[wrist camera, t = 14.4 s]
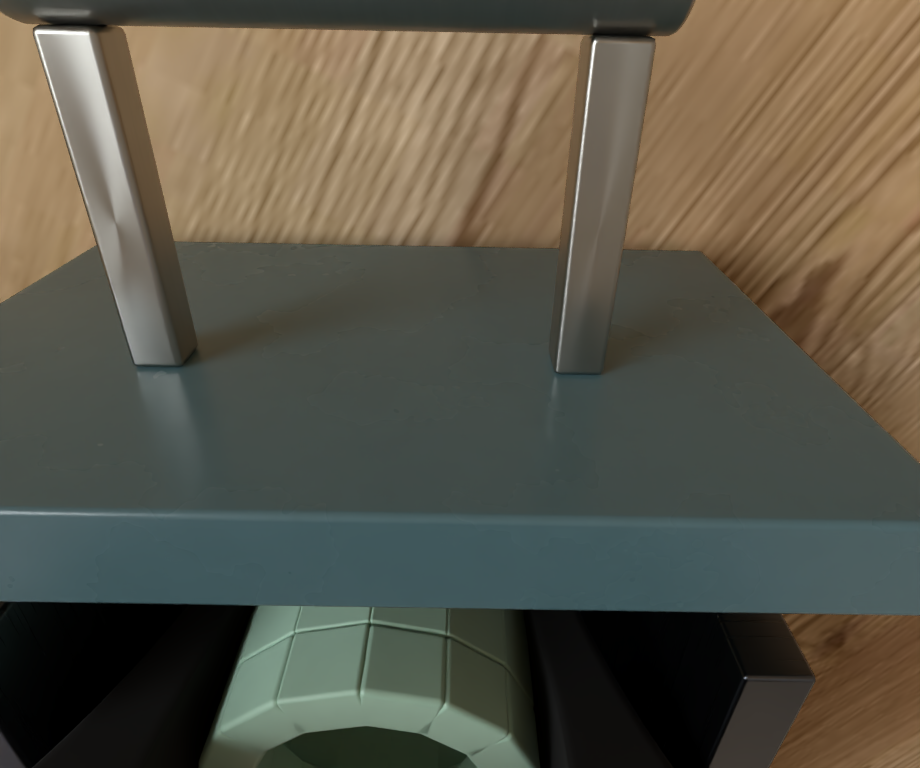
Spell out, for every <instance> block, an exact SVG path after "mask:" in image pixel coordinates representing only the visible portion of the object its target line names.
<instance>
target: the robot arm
mask: <svg viewBox="0 0 920 768" xmlns="http://www.w3.org/2000/svg"><path fill="white" fill-rule="evenodd" d="M253 608H254V605H190V604H189V605H188V606H187V608H186V609H185V610H184V611H183V612H182V613H181V615H180V616H179V617H178V618H177V619H176V621H175V622H174V623H173V624H172V625H171V626H170V627H169V629H168V630H167V631H166V632H165V633H164V634H163V635H162V636H161V638H160V639H159V640H158V641H157V642H156V643H155V644H154V646H153V647H152V648H151V649H150V650H149V651H148V652H147V653H146V655H145V656H144V657H143V658H142V659H141V660H140V661H139V662H138V663H137V664H136V666H135V667H134V668H133V669H132V670H131V671H130V672H129V673H128V674H127V675H126V676H125V677H124V678H123V679H122V680H121V681H120V682H119V683H118V684H117V685H116V687H115V688H114V689H113V690H112V691H111V692H110V693H109V694H108V695H107V696H106V697H105V698H104V699H103V700H102V701H101V702H100V703H99V704H98V705H97V706H96V707H95V708H94V709H93V710H92V711H91V712H90V713H89V714H88V715H87V716H86V717H85V718H84V719H83V720H82V721H81V722H80V723H79V724H78V725H77V726H76V727H75V728H74V729H73V730H72V731H71V732H70V733H69V734H68V735H67V736H66V737H65V738H64V739H63V740H62V741H61V742H59V743H58V744H57V745H56V746H55V747H54V748H53V749H52V750H51V751H50V752H49V753H48V754H47V755H45V756H44V757H43V758H42V759H41V760H40V761H39V762H38V763H37V764H36V765H35V766H34V767H32V768H198V767H199V759H200V756H201V753H202V750H203V748H204V745H205V742H206V739H207V736H208V734H209V731H210V728H211V725H212V722H213V720H214V717H215V714H216V711H217V708H218V706H219V703H220V701H221V699H222V694H223V691H224V688H225V685H226V682H227V680H228V677H229V674H230V671H231V669H232V666H233V663H234V660H235V657H236V655H237V652H238V649H239V646H240V643H241V641H242V638H243V635H244V632H245V629H246V627H247V624H248V621H249V619H250V616H251V613H252V610H253ZM523 614H524V621H525V627H526V636H527V642H528V651H529V661H530V671H531V680H532V690H533V699H534V707H533V710H534V712H535V721H536V731H537V741H538V750H539V760H540V768H673V766H672V765H671V763H670V762H669V761H668V759H667V758H666V756H665V755H664V754H663V752H662V751H661V749H660V748H659V746H658V745H657V743H656V742H655V740H654V739H653V738H652V736H651V735H650V733H649V731H648V730H647V728H646V727H645V725H644V724H643V722H642V721H641V719H640V718H639V716H638V715H637V713H636V711H635V710H634V708H633V707H632V705H631V703H630V702H629V700H628V699H627V697H626V695H625V694H624V692H623V691H622V689H621V687H620V685H619V684H618V682H617V680H616V679H615V677H614V675H613V674H612V672H611V670H610V668H609V667H608V665H607V663H606V661H605V659H604V658H603V656H602V654H601V652H600V650H599V649H598V647H597V645H596V643H595V641H594V640H593V638H592V636H591V634H590V632H589V630H588V628H587V626H586V624H585V622H584V620H583V618H582V616H581V614H580V612H579V611H578V610H523Z"/></svg>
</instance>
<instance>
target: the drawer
mask: <svg viewBox="0 0 920 768" xmlns="http://www.w3.org/2000/svg"><path fill="white" fill-rule="evenodd" d="M694 3H695V0H0V12H2V13H3V14H4V15H6V16H8V17H10V18H12V19H14V20H16V21H19V22H22V23H27V24H39V25H38V26H36V27H34V28H33V36H34V39H35V42H36V46H37V49H38V52H39V56H40V59H41V62H42V66H43V69H44V72H45V75H46V79H47V82H48V85H49V89H50V92H51V95H52V98H53V102H54V105H55V108H56V112H57V115H58V118H59V122H60V125H61V128H62V131H63V135H64V138H65V141H66V145H67V148H68V151H69V155H70V158H71V161H72V164H73V168H74V171H75V174H76V178H77V181H78V184H79V187H80V191H81V194H82V197H83V201H84V204H85V207H86V211H87V214H88V217H89V220H90V224H91V227H92V230H93V234H94V237H95V240H96V244H97V245H96V246H94V247H92V248H91V249H89V250H87V251H86V252H84V253H82V254H81V255H79V256H78V257H76V258H74V259H73V260H71V261H69V262H68V263H66V264H64V265H63V266H61V267H59V268H58V269H56V270H55V271H53V272H51V273H50V274H48V275H46V276H45V277H43V278H41V279H40V280H38V281H37V282H35V283H33V284H32V285H30V286H28V287H27V288H25V289H23V290H22V291H20V292H18V293H17V294H15V295H14V296H12V297H10V298H9V299H7V300H5V301H4V302H2V303H0V768H32V767H34V766H35V765H36V764H37V763H38V762H39V761H40V760H41V759H42V758H43V757H44V756H45V755H47V754H48V753H49V752H50V751H51V750H52V749H53V748H54V747H55V746H56V745H57V744H58V743H59V742H61V741H62V740H63V739H64V738H65V737H66V736H67V735H68V734H69V733H70V732H71V731H72V730H73V729H74V728H75V727H76V726H77V725H78V724H79V723H80V722H81V721H82V720H83V719H84V718H85V717H86V716H87V715H88V714H89V713H90V712H91V711H92V710H93V709H94V708H95V707H96V706H97V705H98V704H99V703H100V702H101V701H102V700H103V699H104V698H105V697H106V696H107V695H108V694H109V693H110V692H111V691H112V690H113V689H114V688H115V687H116V685H117V684H118V683H119V682H120V681H121V680H122V679H123V678H124V677H125V676H126V675H127V674H128V673H129V672H130V671H131V670H132V669H133V668H134V667H135V666H136V664H137V663H138V662H139V661H140V660H141V659H142V658H143V657H144V656H145V655H146V653H147V652H148V651H149V650H150V649H151V648H152V647H153V646H154V644H155V643H156V642H157V641H158V640H159V639H160V638H161V636H162V635H163V634H164V633H165V632H166V631H167V630H168V629H169V627H170V626H171V625H172V624H173V623H174V622H175V621H176V619H177V618H178V617H179V616H180V615H181V613H182V612H183V611H184V610H185V609H186V608H187V606H188V605H189V604H190V605H255V606H319V607H384V608H449V609H513V610H578V611H579V612H580V614H581V616H582V618H583V620H584V622H585V624H586V626H587V628H588V630H589V632H590V634H591V636H592V638H593V640H594V641H595V643H596V645H597V647H598V649H599V650H600V652H601V654H602V656H603V658H604V659H605V661H606V663H607V665H608V667H609V668H610V670H611V672H612V674H613V675H614V677H615V679H616V680H617V682H618V684H619V685H620V687H621V689H622V691H623V692H624V694H625V695H626V697H627V699H628V700H629V702H630V703H631V705H632V707H633V708H634V710H635V711H636V713H637V715H638V716H639V718H640V719H641V721H642V722H643V724H644V725H645V727H646V728H647V730H648V731H649V733H650V735H651V736H652V738H653V739H654V740H655V742H656V743H657V745H658V746H659V748H660V749H661V751H662V752H663V754H664V755H665V756H666V758H667V759H668V761H669V762H670V763H671V765H672V766H673V768H769V767H770V765H771V763H772V761H773V759H774V757H775V756H776V754H777V752H778V750H779V748H780V746H781V744H782V743H783V741H784V739H785V737H786V735H787V733H788V731H789V730H790V728H791V726H792V724H793V722H794V720H795V718H796V717H797V715H798V713H799V711H800V709H801V707H802V705H803V704H804V702H805V700H806V698H807V696H808V694H809V692H810V691H811V689H812V687H813V685H814V683H815V675H814V673H813V672H812V670H811V668H810V666H809V664H808V662H807V660H806V659H805V657H804V655H803V653H802V651H801V649H800V647H799V646H798V644H797V642H796V640H795V638H794V636H793V634H792V632H791V631H790V629H789V627H788V625H787V623H786V621H785V619H784V618H783V616H782V614H837V615H902V616H920V463H919V462H918V461H917V460H916V459H915V458H914V457H913V456H912V455H911V454H910V453H909V452H908V451H907V450H906V449H905V448H904V447H903V446H901V445H900V444H899V443H898V442H897V441H896V440H895V439H894V438H893V437H892V436H891V435H890V434H889V433H888V432H887V431H886V430H885V429H884V428H883V427H882V426H881V425H880V424H879V423H878V422H877V421H876V420H875V419H874V418H873V417H872V416H871V415H869V414H868V413H867V412H866V411H865V410H864V409H863V408H862V407H861V406H860V405H859V404H858V403H857V402H856V401H855V400H854V399H853V398H852V397H851V396H850V395H849V394H848V393H847V392H846V391H845V390H844V389H843V388H842V387H841V386H840V385H839V384H837V383H836V382H835V381H834V380H833V379H832V378H831V377H830V376H829V375H828V374H827V373H826V372H825V371H824V370H823V369H822V368H821V367H820V366H819V365H818V364H817V363H816V362H815V361H814V360H813V359H812V358H811V357H810V356H809V355H808V354H807V353H805V352H804V351H803V350H802V349H801V348H800V347H799V346H798V345H797V344H796V343H795V342H794V341H793V340H792V339H791V338H790V337H789V336H788V335H787V334H786V333H785V332H784V331H783V330H782V329H781V328H780V327H779V326H778V325H777V324H776V323H775V322H773V321H772V320H771V319H770V318H769V317H768V316H767V315H766V314H765V313H764V312H763V311H762V310H761V309H760V308H759V307H758V306H757V305H756V304H755V303H754V302H753V301H752V300H751V299H750V298H749V297H748V296H747V295H746V294H745V293H744V292H743V291H741V290H740V289H739V288H738V287H737V286H736V285H735V284H734V283H733V282H732V281H731V280H730V279H729V278H728V277H727V276H726V275H725V274H724V273H723V272H722V271H721V270H720V269H719V268H718V267H717V266H716V265H715V264H714V263H713V262H712V261H711V260H709V259H708V258H707V257H706V256H705V255H704V254H703V253H702V252H700V251H667V250H623V246H624V240H625V234H626V228H627V221H628V215H629V209H630V203H631V197H632V191H633V184H634V178H635V172H636V166H637V160H638V153H639V147H640V141H641V135H642V129H643V123H644V116H645V110H646V104H647V98H648V92H649V85H650V79H651V73H652V67H653V61H654V54H655V48H656V42H655V39H654V38H652V37H650V36H670V35H672V34H674V33H676V32H677V31H678V30H679V29H680V28H681V27H682V25H683V24H684V22H685V21H686V19H687V17H688V16H689V13H690V11H691V9H692V7H693V5H694ZM118 26H167V27H218V28H270V29H321V30H373V31H424V32H475V33H527V34H578V35H586V36H584V37H583V39H582V41H581V46H580V56H579V65H578V75H577V84H576V94H575V103H574V113H573V122H572V132H571V141H570V151H569V160H568V170H567V180H566V189H565V199H564V208H563V218H562V227H561V237H560V246H559V249H556V248H500V247H444V246H389V245H333V244H277V243H222V242H174V239H173V235H172V230H171V226H170V222H169V218H168V213H167V209H166V205H165V201H164V196H163V192H162V188H161V183H160V179H159V175H158V171H157V166H156V162H155V158H154V154H153V149H152V145H151V141H150V137H149V132H148V128H147V124H146V120H145V115H144V111H143V107H142V102H141V98H140V94H139V90H138V85H137V81H136V77H135V73H134V68H133V64H132V60H131V56H130V51H129V47H128V43H127V39H126V34H125V32H124V30H123V29H122V28H120V27H118Z"/></svg>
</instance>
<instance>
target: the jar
mask: <svg viewBox="0 0 920 768" xmlns="http://www.w3.org/2000/svg"><path fill="white" fill-rule="evenodd" d="M533 707H534V699H533V690H532V680H531V671H530V661H529V651H528V642H527V636H526V627H525V621H524V614H523V610H513V609H449V608H384V607H319V606H255V605H254V608H253V610H252V613H251V616H250V619H249V621H248V624H247V627H246V629H245V632H244V635H243V638H242V641H241V643H240V646H239V649H238V652H237V655H236V657H235V660H234V663H233V666H232V669H231V671H230V674H229V677H228V680H227V682H226V685H225V688H224V691H223V694H222V699H221V701H220V703H219V706H218V708H217V711H216V714H215V717H214V720H213V722H212V725H211V728H210V731H209V734H208V736H207V739H206V742H205V745H204V748H203V750H202V753H201V756H200V759H199V767H198V768H540V760H539V750H538V741H537V731H536V721H535V712H534V710H533Z"/></svg>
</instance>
